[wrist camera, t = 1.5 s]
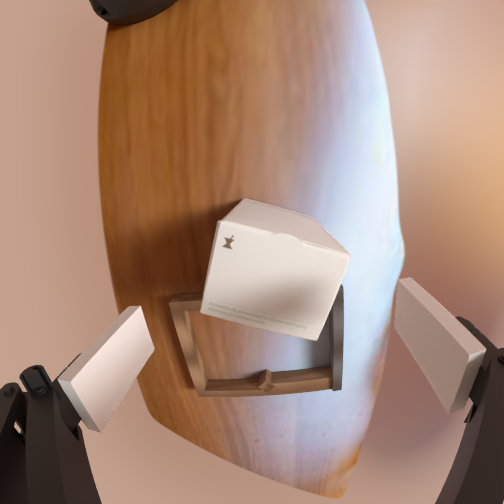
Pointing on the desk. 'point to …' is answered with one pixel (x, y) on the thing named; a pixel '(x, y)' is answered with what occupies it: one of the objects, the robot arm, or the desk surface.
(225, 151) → the desk surface
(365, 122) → the desk surface
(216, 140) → the desk surface
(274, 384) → the brown wooden shallow tray
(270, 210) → the skincare box
